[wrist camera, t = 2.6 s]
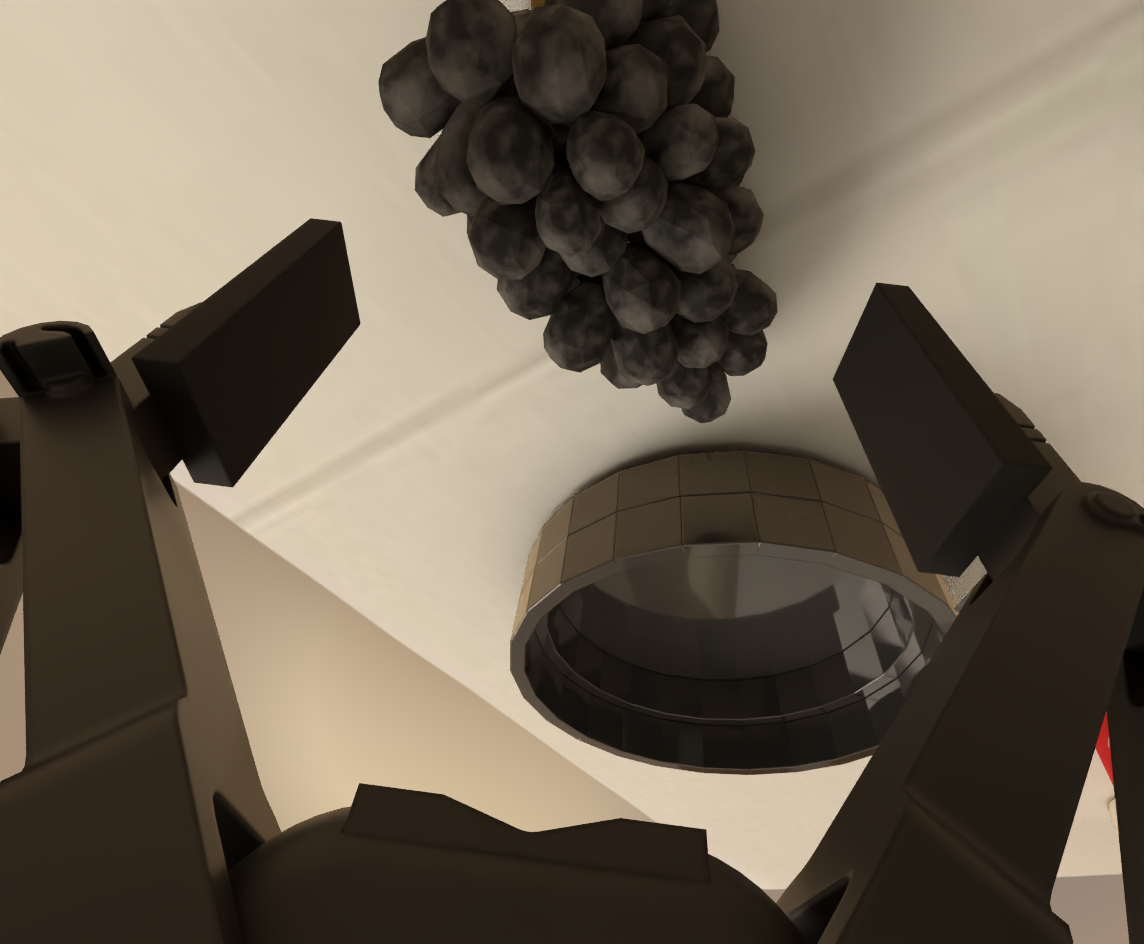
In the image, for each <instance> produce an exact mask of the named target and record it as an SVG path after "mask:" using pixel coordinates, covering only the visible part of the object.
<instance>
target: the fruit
mask: <svg viewBox="0 0 1144 944" xmlns="http://www.w3.org/2000/svg"><path fill="white" fill-rule="evenodd" d="M718 32H719V16H718V7H717V3H716V0H531V11H530V10H528V9H526V10H521V11H515V12H510V11H509V10H508V9H507V8H506V7H505V6H504V5H503V4H502V3H501V2H500V1H499V0H446V1H445V2H443V3H442V4H441V5H439V6H438V7H437V8H436V9H435V10H434V11H433V12H432V13H431V17H430V21H429V26H428V31H427V36H426V37H425V38H422V39H419V40H416V41H413V42H411V43H410V44H408V45H407V46H406V47H405V48H403V49H402V50H401V51H399V52H398V53H397V54H396V55H394V56H393V57H392V58H390V59H389V60H388V61H386V62H385V63H384V64H383V66H382V70H381V74H380V78H379V92H380V97H381V101H382V104H383V108H384V110H385V112H386V113H387V115H388V116H389V118H390V119H391V121H392V122H393V124H394V125H395V126H396V127H397V128H399V129H401V130H402V131H404V132H406V133H407V134H409V135H410V136H417V137H426V138H431V137H432V136H434V135H435V134H436V133H438V132H439V131H440V130H442V129H443V130H442V134H441V135H440V136H439V137H438V139H437V140H436V141H435V143H434V144H433V145H432V147H431V148H430V150H429V151H428V152H427V154H426V155H425V156H424V158H423V159H422V160H421V162H420V163H419V164H418V166H417V167H416V176H415V191H416V192H417V194H418V195H419V196H420V198H421V199H422V200H423V202H424V203H425V205H426V206H427V207H428V208H429V209H431V210H433V211H434V212H436V213H438V214H440V215H441V216H443V217H444V216H448V215H452V214H456V213H460V212H462V213H465V214H467V234H468V238H469V241H470V244H471V247H472V250H473V253H474V255H475V258H476V261H477V264H478V266H479V267H481V268H482V269H484V270H485V271H487V272H488V273H490V274H491V275H493V276H494V277H496V278H497V279H498V284H497V291H498V292H499V294H500V295H501V297H502V298H503V300H504V301H505V303H506V304H507V306H508V308H509V309H510V311H511V312H513V313H515V314H518V315H520V316H522V317H524V318H526V319H529V320H531V319H536V318H540V317H544V316H548V315H551V316H550V319H549V321H548V324H547V326H546V328H545V331H544V333H543V337H544V348H545V350H546V351H547V353H548V355H549V356H550V358H551V359H552V360H553V361H554V362H555V363H556V364H557V365H558V366H559V367H560V368H563V369H567V370H571V371H576V372H582V371H584V370H586V369H588V368H590V367H593V366H595V365H597V364H599V363H601V373H602V374H603V375H604V376H605V377H606V378H607V379H608V380H609V381H610V382H611V383H612V384H613V385H614V386H616V387H617V388H618V389H621V388H638V387H639V386H641V385H652V384H655V383H656V384H657V389H658V393H659V395H660V396H661V397H662V398H663V399H664V400H665V401H666V402H667V403H668V404H669V405H670V406H672V407H679V408H682V411H683V413H684V415H686V416H688V417H690V418H692V419H694V420H696V421H698V422H700V423H705V422H711V421H713V420H715V419H716V418H718V417H720V416H722V415H724V414H725V412H726V410H727V408H728V405H729V403H730V400H731V396H730V391H729V387H728V382H727V377H726V374H728V375H730V376H743V375H746V374H747V373H749V372H751V371H752V370H754V369H756V368H758V367H759V366H761V364H762V363H763V361H764V359H765V356H766V350H767V344H768V343H767V341H766V338H765V335H764V332H763V329H765V328H767V327H768V326H770V324H771V322H772V320H773V319H774V317H775V315H776V313H777V301H776V294H775V292H774V291H773V290H772V289H771V288H770V287H769V286H768V285H767V284H766V283H764V282H763V281H762V280H760V279H759V278H758V277H757V276H755V275H754V274H753V273H751V272H750V271H745V270H737V269H736V268H735V266H734V264H732V261H733V260H734V258H735V257H736V255H737V254H738V253H740V252H741V251H743V250H744V249H746V248H747V247H748V246H750V245H751V244H752V243H753V242H754V240H755V239H756V237H757V235H758V233H759V232H760V228H761V224H762V220H763V216H764V214H763V212H762V210H761V208H760V206H759V205H758V203H757V201H756V199H755V197H754V195H753V193H752V191H751V190H749V189H746V188H743V187H740V186H738V185H740V184H741V182H742V179H743V177H744V174H745V173H746V171H747V170H748V169H749V167H750V166H751V164H752V161H753V157H754V154H755V148H754V145H753V141H752V138H751V135H750V131H749V128H748V127H747V126H745V125H744V124H742V123H741V122H739V121H737V120H736V119H734V118H727V117H728V116H729V114H730V113H731V109H732V105H733V100H734V78H735V77H734V76H733V74H732V73H731V72H730V71H729V70H728V69H727V68H726V66H725V65H724V64H723V63H722V62H721V61H720V60H719V58H718V57H713V56H707V55H706V52H707V51H709V50H710V49H711V47H712V45H713V43H714V40H715V38H716V36H717V34H718ZM570 167H571V168H570ZM628 242H629V243H628ZM724 372H725V373H726V374H725V373H724Z"/></svg>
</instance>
